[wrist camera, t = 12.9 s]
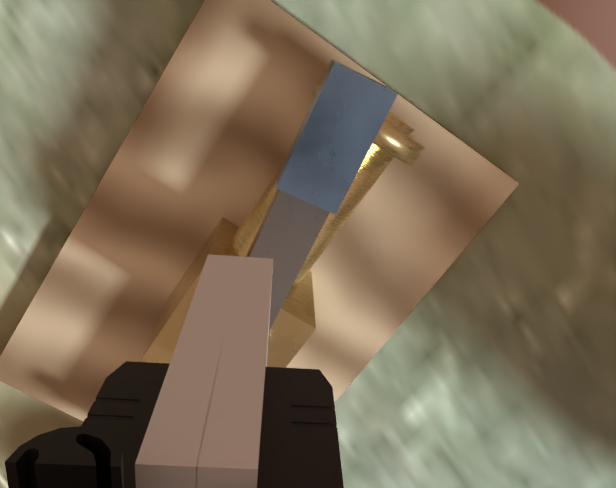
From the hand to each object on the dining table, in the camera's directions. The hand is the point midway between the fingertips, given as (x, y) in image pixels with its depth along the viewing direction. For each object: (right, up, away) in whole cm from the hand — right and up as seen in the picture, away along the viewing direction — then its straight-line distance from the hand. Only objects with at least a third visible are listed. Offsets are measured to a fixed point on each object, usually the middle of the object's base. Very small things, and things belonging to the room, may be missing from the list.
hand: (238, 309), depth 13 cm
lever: (0, +2, +16) cm, 16 cm away
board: (-3, -1, +27) cm, 27 cm away
